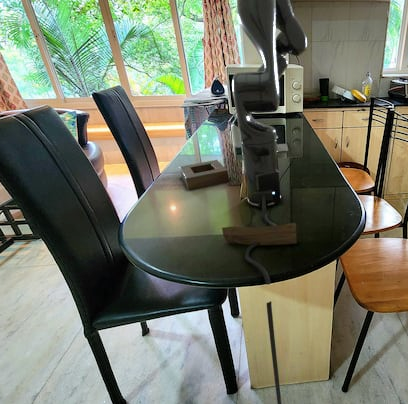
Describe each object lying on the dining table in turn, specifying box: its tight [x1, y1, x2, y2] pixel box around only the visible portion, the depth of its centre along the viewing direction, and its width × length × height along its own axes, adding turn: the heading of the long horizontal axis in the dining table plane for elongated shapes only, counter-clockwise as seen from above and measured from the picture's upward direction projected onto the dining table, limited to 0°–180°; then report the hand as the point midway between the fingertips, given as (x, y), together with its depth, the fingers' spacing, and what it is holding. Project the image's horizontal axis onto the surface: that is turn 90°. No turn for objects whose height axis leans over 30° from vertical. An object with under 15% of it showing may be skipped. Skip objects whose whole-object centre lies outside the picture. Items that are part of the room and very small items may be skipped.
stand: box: [179, 159, 230, 191], centre depth 96 cm, size 13×13×4 cm
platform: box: [276, 135, 290, 153], centre depth 126 cm, size 12×18×7 cm, turn 96°
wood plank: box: [221, 222, 298, 246], centre depth 60 cm, size 15×2×5 cm, turn 91°
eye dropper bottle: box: [230, 113, 241, 149], centre depth 98 cm, size 4×6×12 cm
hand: (233, 124), depth 96 cm, fingers closed on eye dropper bottle, 3 cm apart
